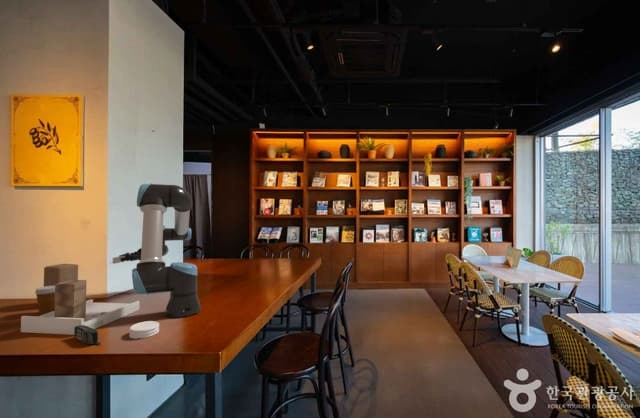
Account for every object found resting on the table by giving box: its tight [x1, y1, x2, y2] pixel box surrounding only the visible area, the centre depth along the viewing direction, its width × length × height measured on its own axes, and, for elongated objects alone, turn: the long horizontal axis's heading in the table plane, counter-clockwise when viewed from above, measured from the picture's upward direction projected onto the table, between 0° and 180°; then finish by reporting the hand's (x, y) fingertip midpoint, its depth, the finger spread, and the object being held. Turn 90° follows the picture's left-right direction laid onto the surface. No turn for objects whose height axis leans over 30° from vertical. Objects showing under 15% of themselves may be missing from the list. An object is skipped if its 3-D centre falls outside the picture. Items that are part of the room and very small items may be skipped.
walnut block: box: [54, 279, 87, 319], centre depth 119 cm, size 7×7×16 cm
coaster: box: [128, 320, 160, 340], centre depth 113 cm, size 10×10×4 cm
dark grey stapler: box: [73, 325, 102, 346], centre depth 106 cm, size 5×3×15 cm
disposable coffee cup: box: [34, 285, 55, 316], centre depth 136 cm, size 10×10×12 cm
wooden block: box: [43, 263, 79, 287], centre depth 150 cm, size 10×10×20 cm
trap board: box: [20, 299, 141, 336], centre depth 128 cm, size 31×26×6 cm
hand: (114, 260), depth 142 cm, fingers closed
